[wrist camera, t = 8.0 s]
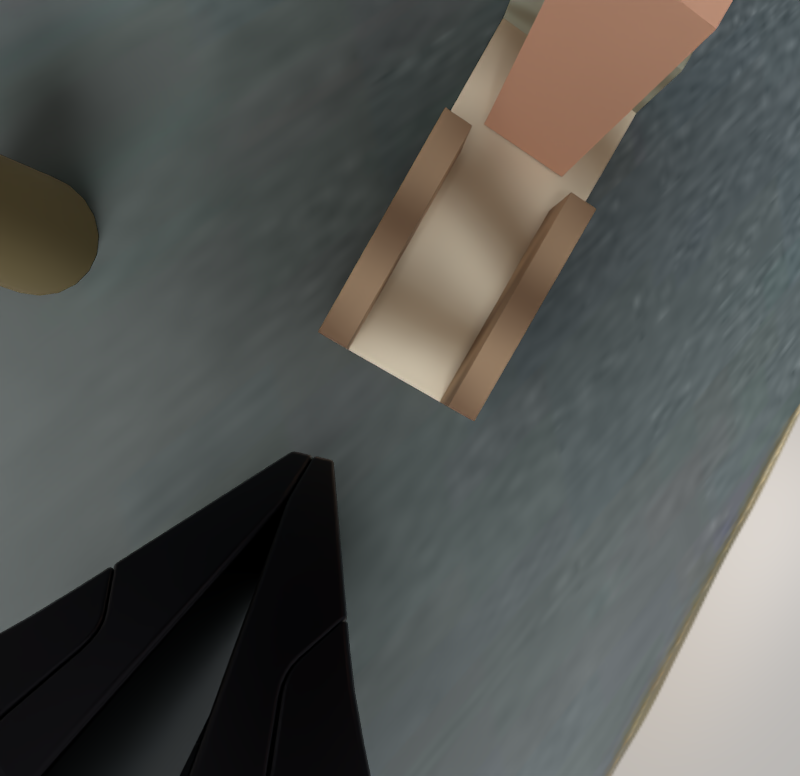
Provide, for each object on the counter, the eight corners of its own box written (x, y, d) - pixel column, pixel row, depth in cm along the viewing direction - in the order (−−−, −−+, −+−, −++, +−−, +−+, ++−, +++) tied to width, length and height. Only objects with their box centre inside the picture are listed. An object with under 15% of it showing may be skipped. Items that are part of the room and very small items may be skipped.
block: (561, 176, 20) (716, 28, 11) (483, 124, 20) (581, -76, 11) (608, 95, 20) (801, -120, 11) (531, 40, 20) (669, -231, 11)
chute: (460, 413, 21) (479, 423, 18) (324, 336, 20) (315, 330, 17) (637, 104, 21) (693, 51, 17) (508, 11, 20) (539, -65, 16)
